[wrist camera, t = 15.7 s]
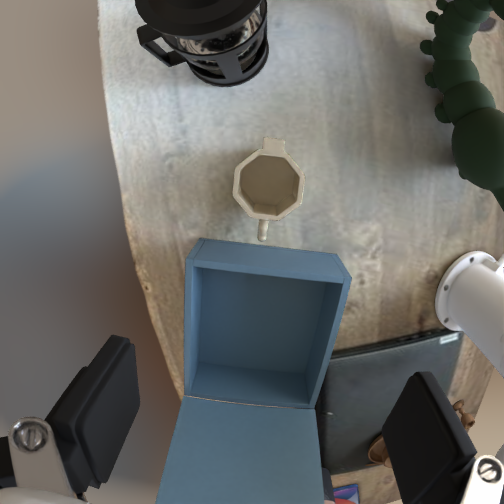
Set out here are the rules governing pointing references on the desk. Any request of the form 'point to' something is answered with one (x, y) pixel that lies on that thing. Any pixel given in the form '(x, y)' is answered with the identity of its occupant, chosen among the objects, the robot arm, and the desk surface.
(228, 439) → the lid
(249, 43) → the french press
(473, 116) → the toy figurine
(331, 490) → the travel mug
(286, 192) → the jug
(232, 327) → the chest
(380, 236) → the desk surface
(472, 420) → the place setting
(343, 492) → the smartphone
